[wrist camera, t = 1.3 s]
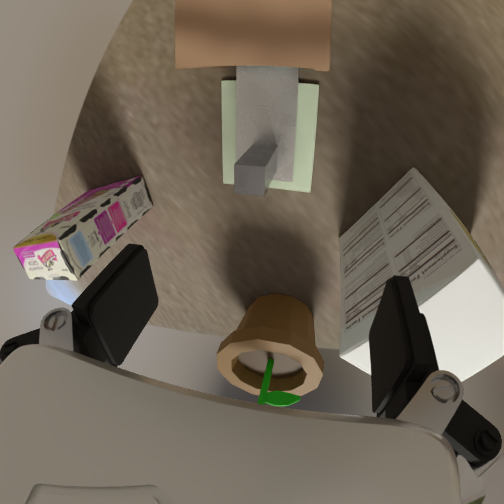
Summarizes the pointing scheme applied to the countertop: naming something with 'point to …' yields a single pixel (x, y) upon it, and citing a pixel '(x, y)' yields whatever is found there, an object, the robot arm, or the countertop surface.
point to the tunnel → (253, 33)
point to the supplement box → (421, 278)
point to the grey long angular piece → (265, 127)
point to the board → (303, 136)
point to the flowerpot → (273, 351)
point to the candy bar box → (83, 230)
